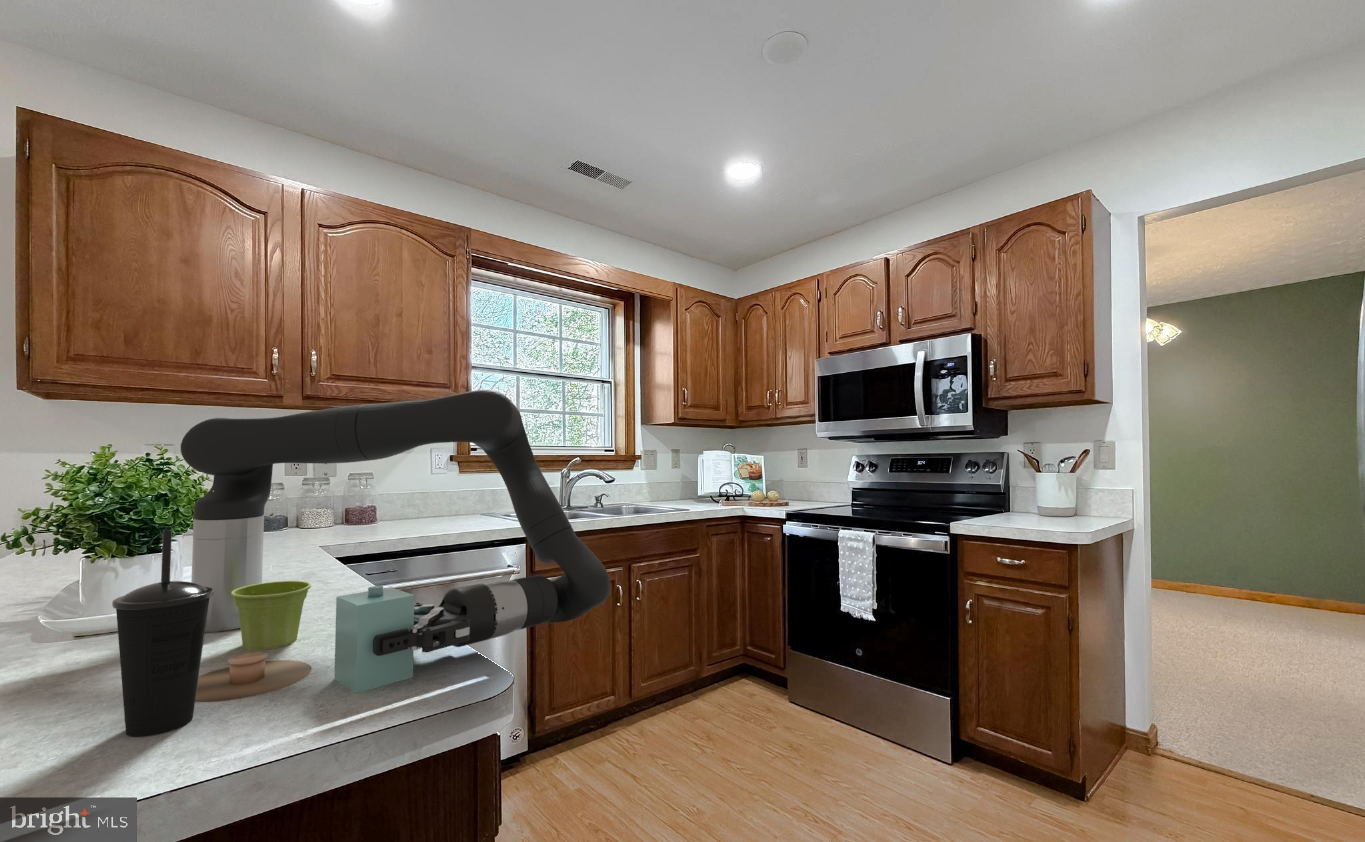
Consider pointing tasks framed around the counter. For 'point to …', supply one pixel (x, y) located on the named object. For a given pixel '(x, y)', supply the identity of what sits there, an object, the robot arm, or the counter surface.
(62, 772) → the counter surface
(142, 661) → the drinking cup
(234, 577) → the robot arm
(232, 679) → the ramekin
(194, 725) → the counter surface
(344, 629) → the teal flask block
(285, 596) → the plant pot
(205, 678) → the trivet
